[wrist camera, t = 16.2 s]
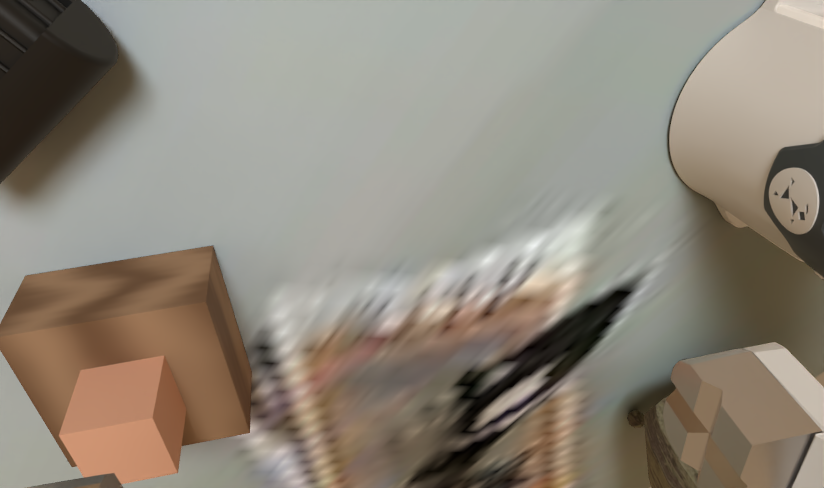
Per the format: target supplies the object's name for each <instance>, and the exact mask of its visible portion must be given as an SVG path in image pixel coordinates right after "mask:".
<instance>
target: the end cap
mask: <svg viewBox="0 0 824 488" xmlns="http://www.w3.org/2000/svg"><path fill="white" fill-rule="evenodd" d="M117 59H118V50H117V46H116V44H115V41H114V39H113V37H112V36H111V34H110V32H109V31H108V30H107V28H106V27H105V25H104V24H103V23H102V22H101V20H100V19H99V18H98V17H97V16H96V15H95V14H94V13H93V12H92V11H91V10H90V8H89V7H88V6H87V5H85V4H84V3H83V2H82V1H81V0H0V183H1V182H2V181H3V180H4V179H5V178H6V177H7V176H8V175H9V174H10V173H11V172H12V171H13V170H14V169H15V168H16V167H17V166H18V165H19V164H20V163H21V162H22V161H23V159H24V158H25V157H26V156H27V155H28V154H29V153H30V152H31V151H32V150H33V149H34V148H35V147H36V146H37V145H38V144H39V143H40V142H41V141H42V140H43V139H44V138H45V136H46V135H47V134H48V133H49V132H50V131H51V130H52V129H53V128H54V127H55V126H56V125H57V124H58V123H59V122H60V121H61V120H62V119H63V118H64V117H65V116H66V115H67V113H68V112H69V111H70V110H71V109H72V108H73V107H74V106H75V105H76V104H77V103H78V102H79V101H80V100H81V99H82V98H83V97H84V96H85V95H86V94H87V93H88V92H89V90H90V89H91V88H92V87H93V86H94V85H95V84H96V83H97V82H98V81H99V80H100V79H101V78H102V77H103V76H104V75H105V74H106V73H107V72H108V71H109V70H110V69H111V67H112V66H113V65H114V64H115V63H116V62H117Z"/></svg>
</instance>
